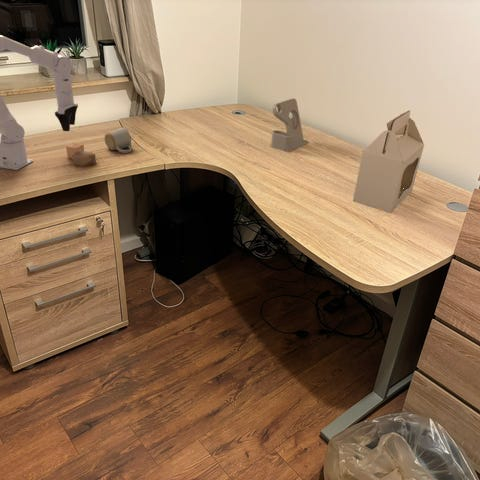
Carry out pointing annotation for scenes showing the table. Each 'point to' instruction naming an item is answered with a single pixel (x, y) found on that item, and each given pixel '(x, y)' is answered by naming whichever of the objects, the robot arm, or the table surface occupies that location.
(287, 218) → the table surface
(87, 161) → the pedestal
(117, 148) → the ceramic mug
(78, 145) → the cube
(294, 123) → the phone holder
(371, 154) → the gable box
